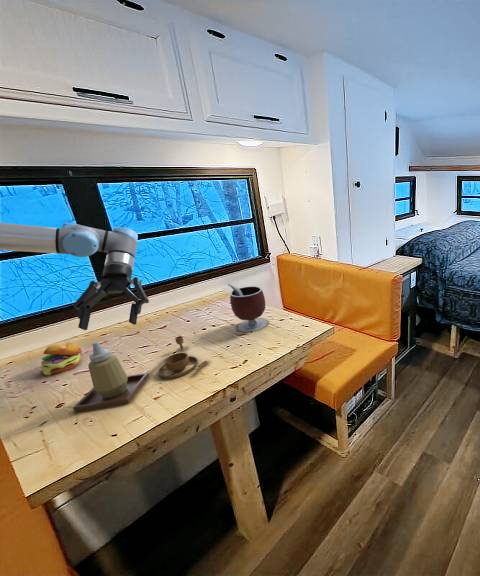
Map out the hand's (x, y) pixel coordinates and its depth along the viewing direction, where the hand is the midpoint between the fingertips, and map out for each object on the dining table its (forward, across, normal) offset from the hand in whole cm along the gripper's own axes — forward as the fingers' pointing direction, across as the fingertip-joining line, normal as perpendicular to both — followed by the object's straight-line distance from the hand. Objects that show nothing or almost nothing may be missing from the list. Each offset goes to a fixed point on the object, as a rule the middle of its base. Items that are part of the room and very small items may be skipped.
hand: (107, 326), depth 97 cm
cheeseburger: (+4, +26, -24) cm, 36 cm away
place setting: (+11, -17, -17) cm, 26 cm away
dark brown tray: (+20, -1, -8) cm, 22 cm away
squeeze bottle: (+20, -1, -8) cm, 21 cm away
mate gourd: (-7, -36, -35) cm, 50 cm away
